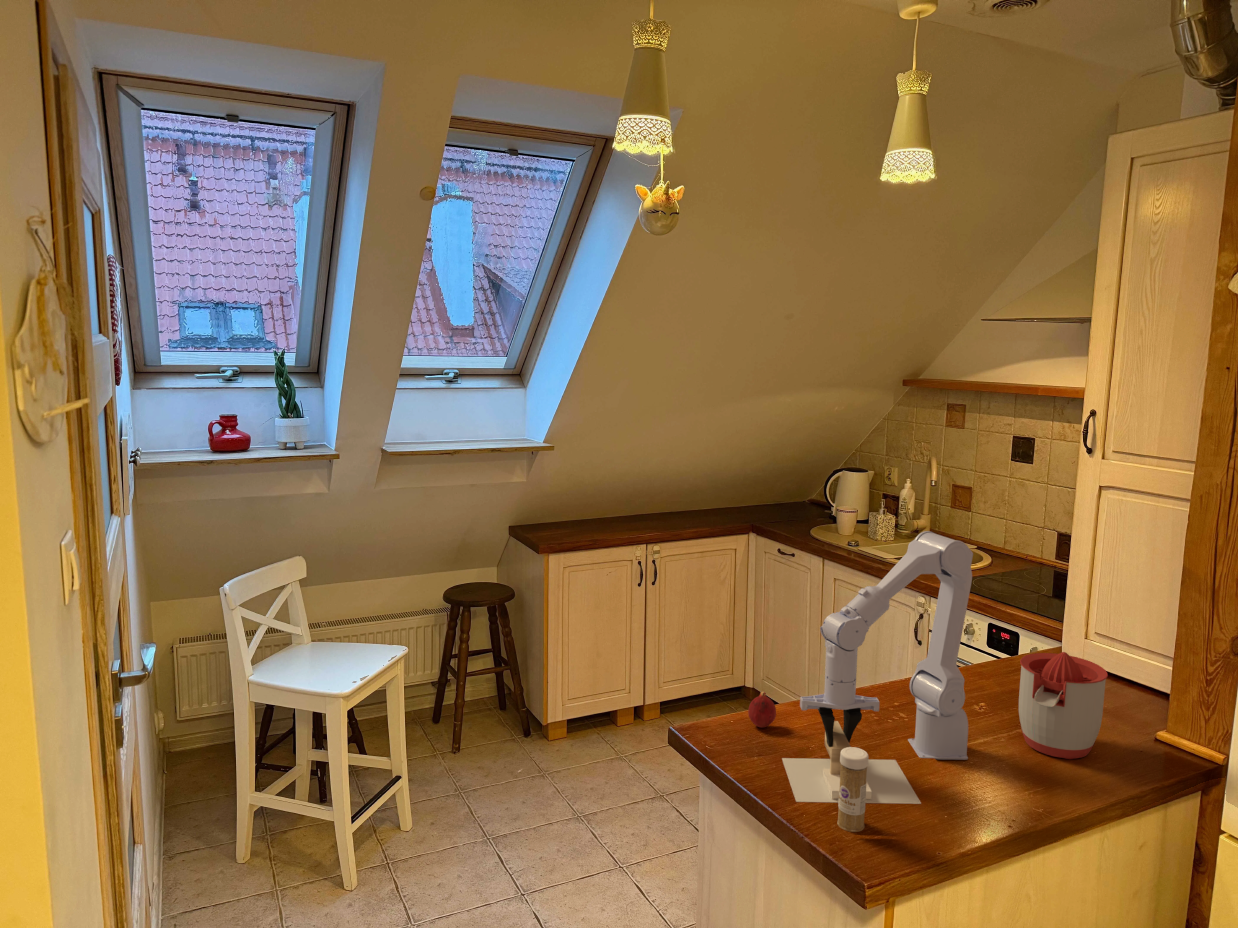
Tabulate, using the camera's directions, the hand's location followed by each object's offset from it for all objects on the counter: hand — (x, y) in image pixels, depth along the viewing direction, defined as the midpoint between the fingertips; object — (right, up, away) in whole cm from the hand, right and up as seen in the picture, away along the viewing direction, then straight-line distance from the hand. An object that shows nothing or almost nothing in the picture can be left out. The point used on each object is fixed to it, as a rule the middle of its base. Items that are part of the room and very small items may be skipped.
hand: (837, 744), depth 167 cm
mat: (+1, -6, -4) cm, 7 cm away
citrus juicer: (+46, -4, +10) cm, 47 cm away
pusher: (0, -3, +1) cm, 3 cm away
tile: (0, -4, -3) cm, 5 cm away
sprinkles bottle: (-2, -8, -19) cm, 21 cm away
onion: (-12, -2, +18) cm, 21 cm away
